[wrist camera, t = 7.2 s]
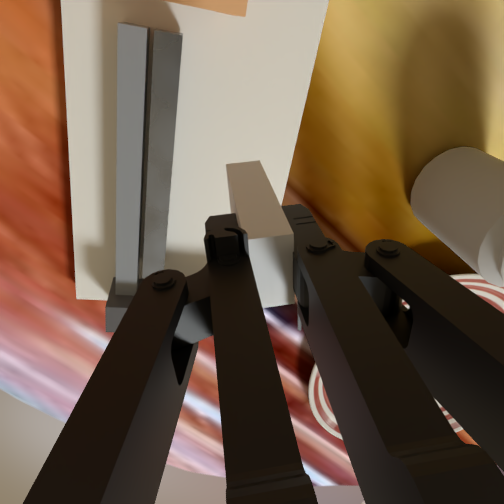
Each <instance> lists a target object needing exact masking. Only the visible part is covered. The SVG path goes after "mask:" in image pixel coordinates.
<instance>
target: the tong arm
mask: <svg viewBox="0 0 504 504" xmlns="http://www.w3.org/2000/svg"><path fill="white" fill-rule="evenodd" d="M182 40H183V33H178V32H173V31H168V30H163V29H158V28H156V29H155V30H154V44H153V65H152V86H151V107H150V127H149V148H148V169H147V190H146V211H145V231H144V252H143V273H142V278H146V277H147V276H149V275H150V274H152V273H154V272H157V271H160V270H164V265H165V253H166V240H167V228H168V215H169V203H170V190H171V178H172V165H173V153H174V140H175V128H176V115H177V103H178V90H179V78H180V65H181V53H182Z"/></svg>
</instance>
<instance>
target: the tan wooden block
mask: <svg viewBox="0 0 504 504" xmlns="http://www.w3.org/2000/svg"><path fill="white" fill-rule="evenodd" d="M163 1H168V2H173V3H177V4H182V5H187V6H192V7H197V8H201V9H206V10H211V11H216V12H219V13H224V14H228V15H234V16H242V17H245V16H246V9H247V3H248V0H163Z"/></svg>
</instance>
